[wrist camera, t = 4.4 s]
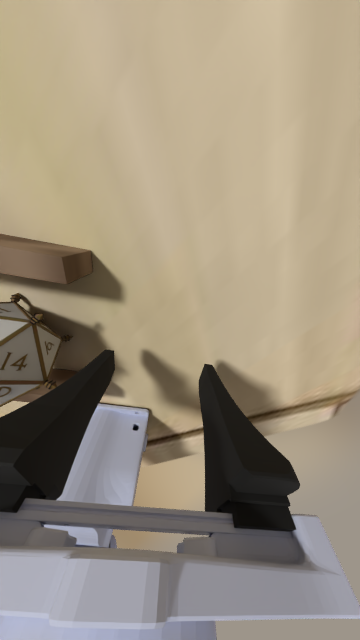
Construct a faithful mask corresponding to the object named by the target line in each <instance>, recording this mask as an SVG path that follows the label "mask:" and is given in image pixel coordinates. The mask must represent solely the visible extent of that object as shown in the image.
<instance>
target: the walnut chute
mask: <svg viewBox="0 0 360 640" xmlns="http://www.w3.org/2000/svg"><path fill="white" fill-rule="evenodd" d="M92 272H93V268H92V259H91V251H90V250H85V249H80V248H74V247H69V246H63V245H58V244H53V243H47V242H42V241H36V240H31V239H26V238H20V237H15V236H9V235H4V234H0V273H2V274H8V275H14V276H20V277H26V278H32V279H38V280H44V281H50V282H56V283H62V284H69V283H71V282H73V281H75V280H77V279H79V278H81V277H84V276H86V275H88V274H90V273H92ZM76 373H78V372H76V371H68V370H60V369H53V368H52V371H51V373H50V376H49V379H48V380H50V381H51V380H53V381H54V382H55V381H56V385H57V387H58V386H59V385H61V384H62V383H64V382H65V381H67V380H68V379H69V378H71V377H72V376H74V375H75V374H76ZM51 390H53V389H48V388H46V386H45V385H42V386H40V389H35V390H33V391H31V392H29V393H27V394H25V395H23V396H21V397H19V398H17V399H15V400H13V401H21V402H32V401H34V400H36V399H38V398H39V397H41V396H43V395H44V394H46V393H48V392H50V391H51Z"/></svg>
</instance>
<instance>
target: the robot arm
mask: <svg viewBox="0 0 360 640" xmlns="http://www.w3.org/2000/svg"><path fill="white" fill-rule="evenodd" d="M114 370H115V363H114V351H112V350H105V351H103V352H102V353H101V354H100V355H99V356H98V357H96V358H95V359H94V360H93V361H92V362H90V363H89V364H88V365H87V366H85V367H84V368H83V369H82V370H80V371H79V372H78V373H76V374H75V375H74V376H72V377H71V378H69V379H68V380H67V381H65V382H64V383H62V384H61V385H59V386H58V387H56V388H54V389H53V390H51V391H50V392H48V393H46V394H44V395H43V396H41V397H39V398H38V399H36V400H34V401H32V402H30V403H28V404H27V405H25V406H23V407H21V408H19V409H17V410H15V411H13V412H11V413H9V414H7V415H5V416H3V417H0V640H217V638H216V625H215V621H217V620H218V621H219V620H261V619H265V620H266V619H314V618H343V619H344V618H345V619H346V618H347V619H360V605H359V603H358V601H357V599H356V596H355V594H354V592H353V590H352V588H351V586H350V584H349V581H348V579H347V577H346V575H345V573H344V571H343V569H342V566H341V564H340V562H339V560H338V558H337V556H336V554H335V551H334V549H333V547H332V545H331V543H330V541H329V539H328V537H327V534H326V532H325V530H324V528H323V526H322V524H321V522H320V520H319V518H318V516H316V515H305V514H290V511H289V508H288V507H289V506H290V502H289V500H288V497H287V495H289V494H291V493H293V492H294V491H296V490H298V489H299V487H300V483H299V481H298V478H297V476H296V474H295V472H294V469H293V467H292V465H291V464H290V462H289V461H288V460H287V459H286V458H285V457H284V456H283V455H282V454H281V453H280V452H279V451H278V450H277V449H276V448H275V447H273V446H272V445H271V444H270V443H269V442H268V441H267V440H266V439H265V438H264V437H263V435H262V434H261V433H260V432H259V431H258V430H257V429H256V428H255V427H254V426H253V425H252V423H251V422H250V421H249V420H248V419H247V418H246V416H245V415H244V414H243V413H242V411H241V410H240V409H239V407H238V406H237V405H236V403H235V402H234V400H233V399H232V398H231V396H230V395H229V393H228V391H227V390H226V388H225V387H224V385H223V383H222V382H221V380H220V378H219V376H218V375H217V373H216V371H215V369H214V367H213V366H212V365H209V364H205V365H204V367H203V370H202V373H201V376H200V379H199V397H200V405H201V412H202V420H203V429H204V450H205V512H203V511H190V510H176V509H163V508H150V507H137V506H133V503H134V498H135V493H136V487H137V482H138V476H139V471H140V465H141V460H142V454H143V451H144V452H145V451H146V445H147V439H148V434H146V431H147V424H148V416H149V410H147V409H141V408H133V407H124V406H116V405H107V404H99V402H100V400H101V398H102V396H103V394H104V392H105V391H106V389H107V387H108V385H109V383H110V381H111V378H112V375H113V373H114ZM113 529H120V530H136V531H150V532H166V533H181V534H197V535H210V536H209V537H193V538H184V540H183V542H182V543H179V544H178V545H177V553H173V552H162V551H151V550H137V549H122V548H117V545H116V539H115V537H114V535H112V531H113Z"/></svg>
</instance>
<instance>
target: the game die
mask: <svg viewBox="0 0 360 640" xmlns="http://www.w3.org/2000/svg"><path fill="white" fill-rule="evenodd" d="M11 296H12V298H10V299H11V302H0V407H1V406H3V405H5V404H7V403H9V402H11V401H13V400H15V399H17V398H19V397H21V396H23V395H25V394H27V393H29V392H31V391H33V390H35V389H40V386H42V385H45V386H46V388H48V389H54V388H56V387H57V385H56V381H55V382H54V381H53V380H51V381H50V380H48V379H49V376H50V373H51V371H52V368H53V365H54V362H55V359H56V356H57V354H58V351H59V348H60V345H61V342H62V341H69V340H70V339H71V338H72V336H69V335H67V336H63V337H60V336H59V335H57V334H56V333H55V332H54V331H52V330H51V329H50V328H48V327H47V326H46V325H45V324H43V323H42V322H41V321H42V320H43V314H35V315H34V316H33V315H32V314H30V313H29V312H28V311H27V310H25V309H24V308H23V307H21V306H20V305H19V304H18V303H17V302H19V301H20V299H21V297H20V295H19V293H17V294H15V295H11Z"/></svg>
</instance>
